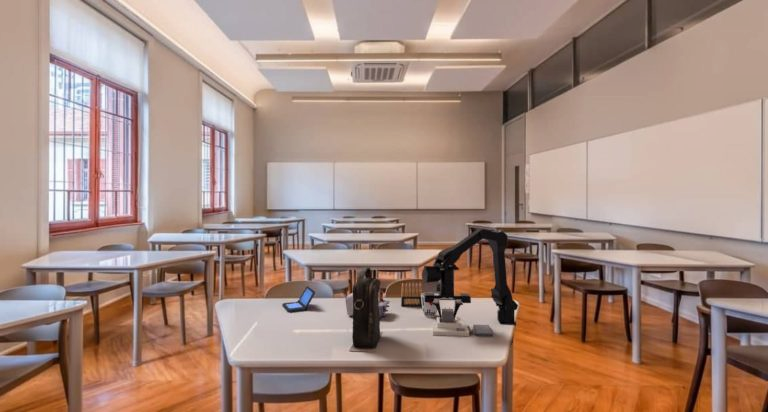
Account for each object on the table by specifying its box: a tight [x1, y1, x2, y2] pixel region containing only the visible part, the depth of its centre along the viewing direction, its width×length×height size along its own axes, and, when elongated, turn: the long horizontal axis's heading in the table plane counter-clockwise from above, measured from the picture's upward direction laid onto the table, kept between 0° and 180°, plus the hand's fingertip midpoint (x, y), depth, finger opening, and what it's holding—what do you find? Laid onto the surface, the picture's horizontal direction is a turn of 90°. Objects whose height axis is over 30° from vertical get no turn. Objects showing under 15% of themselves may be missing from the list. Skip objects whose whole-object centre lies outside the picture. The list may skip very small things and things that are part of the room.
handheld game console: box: [281, 285, 316, 313], centre depth 205 cm, size 16×13×9 cm
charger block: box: [441, 306, 454, 323], centre depth 169 cm, size 4×4×7 cm
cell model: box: [345, 292, 391, 318], centre depth 190 cm, size 13×11×20 cm
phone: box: [472, 324, 494, 338], centre depth 165 cm, size 6×12×1 cm, turn 174°
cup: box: [421, 292, 440, 318], centre depth 188 cm, size 8×8×10 cm
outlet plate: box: [432, 316, 470, 337], centre depth 167 cm, size 14×14×4 cm
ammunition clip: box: [400, 282, 423, 308], centre depth 206 cm, size 11×2×12 cm, turn 85°
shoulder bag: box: [348, 266, 383, 353], centre depth 155 cm, size 23×9×28 cm, turn 173°
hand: (447, 318), depth 169 cm, fingers open, 5 cm apart
